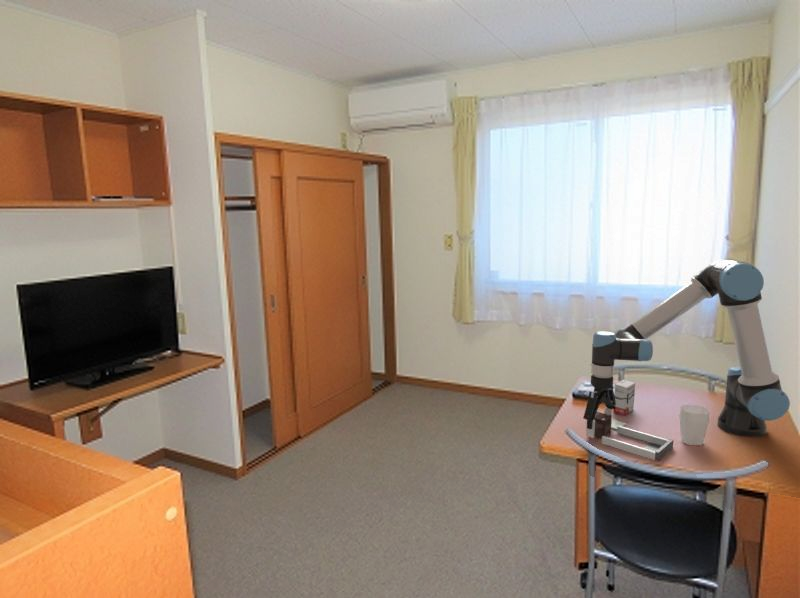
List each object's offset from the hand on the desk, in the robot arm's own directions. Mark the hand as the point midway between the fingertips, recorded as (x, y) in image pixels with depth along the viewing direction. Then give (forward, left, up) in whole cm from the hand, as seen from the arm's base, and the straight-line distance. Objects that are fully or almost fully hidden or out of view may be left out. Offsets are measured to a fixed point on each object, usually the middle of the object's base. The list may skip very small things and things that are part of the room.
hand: (599, 430), depth 193 cm
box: (0, 0, -2) cm, 2 cm away
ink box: (+3, -27, -2) cm, 27 cm away
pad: (0, -11, -1) cm, 11 cm away
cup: (-26, -16, -2) cm, 31 cm away
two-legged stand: (-13, 0, -1) cm, 13 cm away
